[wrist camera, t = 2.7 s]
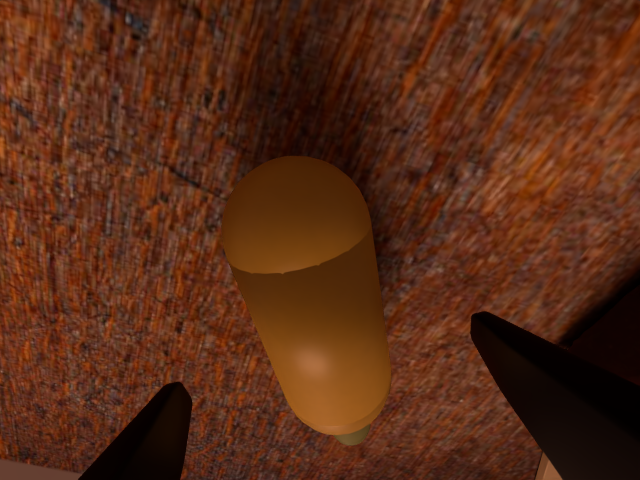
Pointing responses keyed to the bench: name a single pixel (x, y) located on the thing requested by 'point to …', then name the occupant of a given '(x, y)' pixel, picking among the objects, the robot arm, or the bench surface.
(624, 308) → the sculpture
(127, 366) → the bench surface
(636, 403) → the robot arm
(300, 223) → the orange rounded cylinder
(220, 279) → the bench surface
